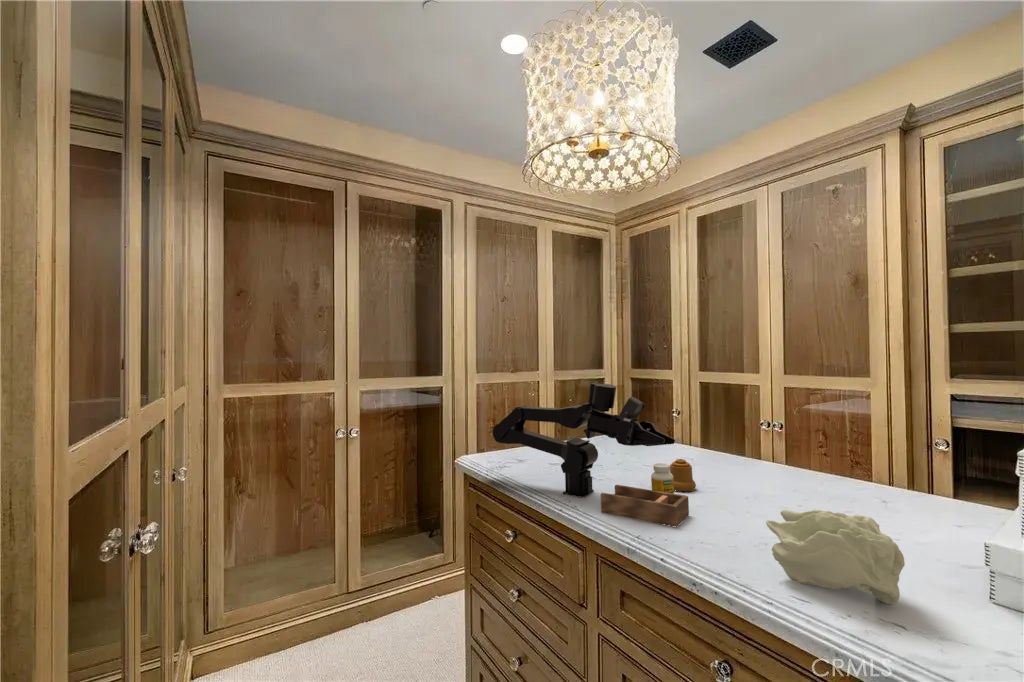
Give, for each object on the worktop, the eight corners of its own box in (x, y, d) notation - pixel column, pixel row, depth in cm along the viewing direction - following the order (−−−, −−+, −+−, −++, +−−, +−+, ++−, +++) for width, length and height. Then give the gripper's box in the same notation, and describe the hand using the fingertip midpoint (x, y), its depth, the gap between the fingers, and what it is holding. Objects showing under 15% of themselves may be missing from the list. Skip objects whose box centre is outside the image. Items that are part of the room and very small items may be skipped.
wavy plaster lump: (797, 620, 80) (745, 529, 84) (842, 582, 85) (791, 499, 90) (903, 630, 64) (833, 518, 69) (949, 583, 70) (882, 482, 74)
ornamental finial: (692, 485, 136) (698, 493, 128) (665, 484, 137) (669, 492, 130) (692, 457, 136) (697, 463, 129) (664, 456, 137) (668, 462, 130)
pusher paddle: (653, 515, 109) (653, 502, 109) (663, 507, 114) (662, 495, 114) (658, 516, 108) (658, 503, 108) (668, 508, 113) (667, 496, 113)
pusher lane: (601, 512, 115) (600, 493, 115) (616, 502, 122) (616, 484, 122) (676, 527, 104) (675, 506, 104) (688, 515, 112) (688, 495, 112)
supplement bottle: (661, 498, 124) (660, 461, 125) (678, 503, 120) (677, 465, 120) (647, 502, 121) (646, 464, 122) (664, 508, 117) (663, 468, 117)
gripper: (603, 391, 118) (665, 406, 109) (629, 398, 133) (685, 411, 124) (593, 436, 117) (655, 454, 108) (620, 437, 133) (677, 453, 124)
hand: (669, 441), depth 116 cm, fingers open, 9 cm apart
